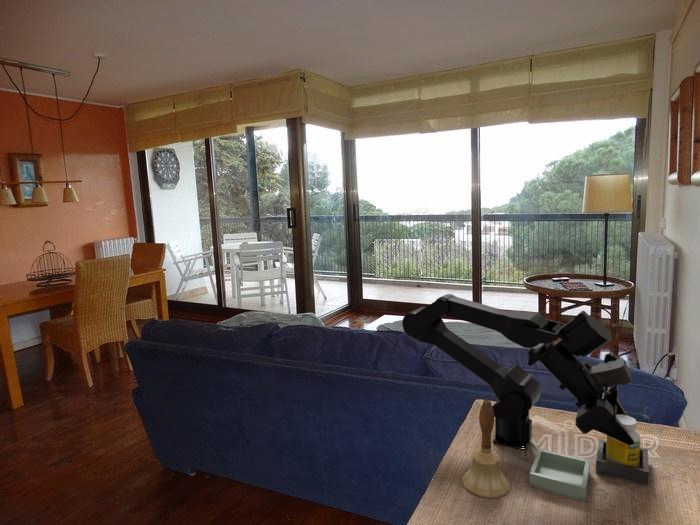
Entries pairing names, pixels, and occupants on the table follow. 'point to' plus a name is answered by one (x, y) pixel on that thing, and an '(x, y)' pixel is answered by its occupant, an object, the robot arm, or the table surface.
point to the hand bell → (486, 462)
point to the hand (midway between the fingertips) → (632, 436)
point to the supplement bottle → (620, 450)
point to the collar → (623, 466)
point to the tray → (560, 474)
